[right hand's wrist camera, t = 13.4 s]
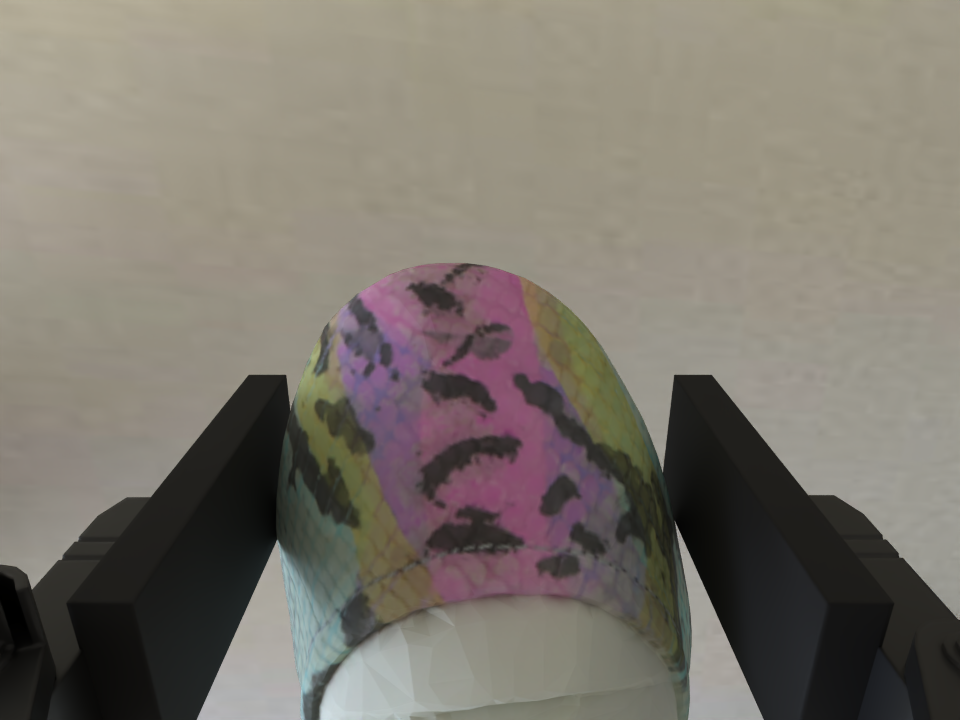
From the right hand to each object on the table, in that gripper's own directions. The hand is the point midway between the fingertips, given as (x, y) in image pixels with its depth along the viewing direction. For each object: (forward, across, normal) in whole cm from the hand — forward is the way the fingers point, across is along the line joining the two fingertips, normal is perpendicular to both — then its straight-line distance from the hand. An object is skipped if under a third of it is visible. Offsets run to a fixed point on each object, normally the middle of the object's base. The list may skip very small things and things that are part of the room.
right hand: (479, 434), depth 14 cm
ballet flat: (+1, 0, -8) cm, 8 cm away
